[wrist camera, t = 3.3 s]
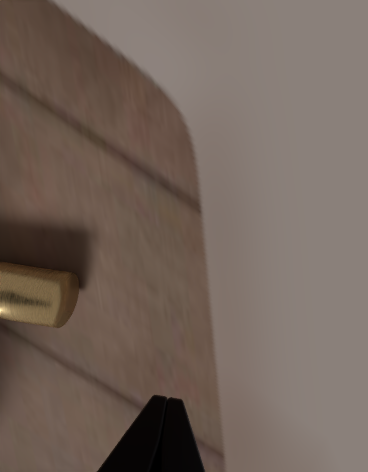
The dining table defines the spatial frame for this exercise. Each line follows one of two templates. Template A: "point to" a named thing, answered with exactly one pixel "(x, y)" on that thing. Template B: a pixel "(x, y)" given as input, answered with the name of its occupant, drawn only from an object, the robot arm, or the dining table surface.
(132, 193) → the dining table surface
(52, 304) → the cylinder
